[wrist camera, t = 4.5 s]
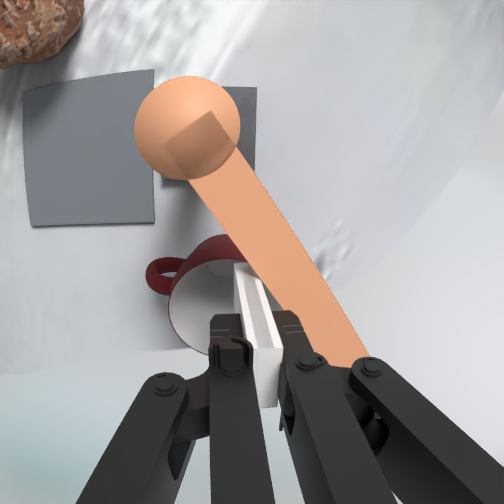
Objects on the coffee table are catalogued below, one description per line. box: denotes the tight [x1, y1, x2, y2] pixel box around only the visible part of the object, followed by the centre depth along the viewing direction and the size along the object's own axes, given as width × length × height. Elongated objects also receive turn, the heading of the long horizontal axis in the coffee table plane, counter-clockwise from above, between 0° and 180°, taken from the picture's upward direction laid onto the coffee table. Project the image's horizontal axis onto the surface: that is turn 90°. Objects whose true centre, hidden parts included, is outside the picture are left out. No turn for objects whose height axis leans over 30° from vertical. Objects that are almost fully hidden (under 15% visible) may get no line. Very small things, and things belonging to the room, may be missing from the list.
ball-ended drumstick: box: [134, 76, 370, 368], centre depth 15 cm, size 4×19×4 cm, turn 34°
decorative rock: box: [0, 0, 84, 69], centre depth 15 cm, size 13×11×10 cm
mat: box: [23, 69, 155, 226], centre depth 26 cm, size 14×14×1 cm
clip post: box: [162, 87, 257, 179], centre depth 20 cm, size 8×8×14 cm
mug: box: [146, 234, 284, 355], centre depth 26 cm, size 10×8×10 cm
